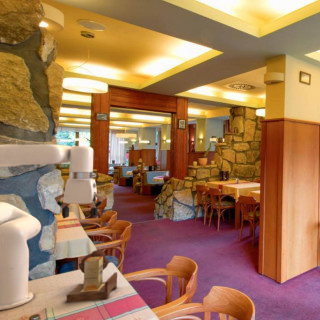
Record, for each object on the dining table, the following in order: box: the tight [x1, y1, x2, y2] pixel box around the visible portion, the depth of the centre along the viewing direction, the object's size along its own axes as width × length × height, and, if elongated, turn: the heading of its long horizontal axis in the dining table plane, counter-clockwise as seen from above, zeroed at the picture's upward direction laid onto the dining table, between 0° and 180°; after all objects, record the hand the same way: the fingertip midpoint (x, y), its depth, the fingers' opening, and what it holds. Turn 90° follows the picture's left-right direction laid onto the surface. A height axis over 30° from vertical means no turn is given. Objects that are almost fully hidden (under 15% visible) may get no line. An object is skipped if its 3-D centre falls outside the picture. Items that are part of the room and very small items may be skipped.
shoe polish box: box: [83, 256, 104, 291], centre depth 118 cm, size 5×5×12 cm
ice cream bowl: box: [78, 249, 110, 274], centre depth 129 cm, size 11×11×15 cm
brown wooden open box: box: [65, 271, 118, 303], centre depth 118 cm, size 14×10×7 cm
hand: (79, 217), depth 117 cm, fingers open, 9 cm apart
